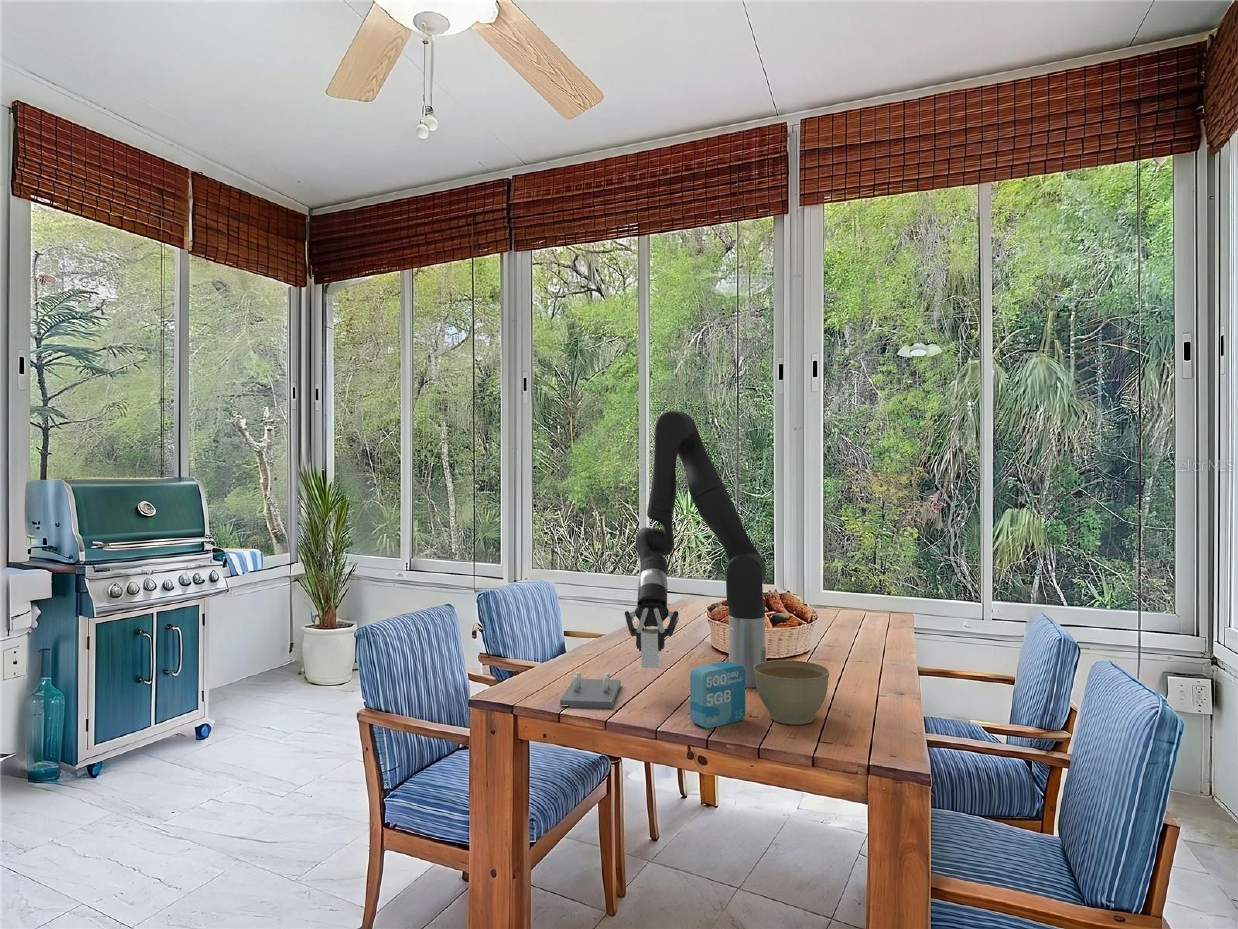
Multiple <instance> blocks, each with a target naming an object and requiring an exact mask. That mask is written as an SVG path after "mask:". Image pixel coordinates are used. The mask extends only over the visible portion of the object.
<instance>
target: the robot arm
mask: <svg viewBox="0 0 1238 929" xmlns="http://www.w3.org/2000/svg"><path fill="white" fill-rule="evenodd" d="M677 457H679V459H680V460H681V463H682V465H683V467H684V472H685V477H686V482H687V487H688V491H689V494H690V498H691V499H692V502H693V504H694V505H695V507H696V510H697V512H698V514H699V515H700V517H701V518H702V520H703V522H704V523H705V524H706V525H707V527H708V528H709V529H710V530H711V532H712V533H713V534H714V535H715V536H716V538H717V539H718V541H719V542H720V544H721V546H722V547H723V550H724V552H725V554H726V556H727V559H728V564H727V566H726V570H725V571H726V572H725V585H726V587H725V588H726V606H727V607H728V608H727V610H728V661H729V662H732V663H735V664H738V665H741V666H743V667H744V669H745V688H757V687H756V681H755V673H754V666H755V665H756V664H759V663H762V662H767V647H766V607H765V604H764V599H763V598H764V596H763V592H764V591H763V590H764V589H763V582H764V580H765V578H766V576H767V566H766V563H765V561H764V559H763V557H762V556H761V554H760V553H759V550H758V549H757V548H756V546H755V544H754V543H753V542H752V540H751V538H750V537H749V535H748V534H747V532H746V529H745V527H744V525H743V523H742V521H741V518H740V516H739V513H738V511H737V509H736V507H735V504H734V503H733V501H732V498H731V495H730V494H729V492H728V490H727V488H726V486H725V484H724V482H723V481H722V478H721V477H720V475H719V473H718V471H717V469H716V467H715V465H714V464H713V462H712V460H711V458H710V457H709V455H708V453H707V451H706V449H705V446H704V443H703V441H702V439H701V435H700V434H699V431H698V428H697V426H696V423H695V420H694V419H693V418H692V417H691V416H690V415H689V414H688V413H686V412H683V411H678V410H677V411H676V410H667V411H664V412H662V413H661V414H660V415H659V416H658V418H657V419H656V421H655V426H654V457H653V472H652V481H651V487H650V493H649V498H648V506H647V510H646V516H647V518H649V519H650V520H652V521H655V522H658V523H659V524H661V525H662V529H659V528H652V527H648V526H647V527H642V528H640V529H639V530H638V531H636V535H635V546H636V547H635V548H636V551H637V553H638V557H639V562H640V569H639V570H640V572H639V573H640V574H639V578H638V587H637V602H636V603H637V604H636V607H635V609H634V611H631V612H629V611H628V610H626V611H625V612H624V617H625V622H626V625H627V628H628V631H629V635H630V636H631V637H635V638H636V639H635V647H636V649H637V650H638V651H639V652H641V633H642V630H643V629H647V628H648V627H654V628H656V629H659V636H658V640H659V642H658V650H659V651H660V652H662V650H665V645H666V643H665V641H666V637H672V636H673V634H674V632H675V629H676V627H677V624H678V622H679V619H680V618H679V617H680V616H679V615H680V614H679V611H677V610H674V611H670V610H669V609H668V591H669V588H668V584H669V583H668V577H667V576H668V575H667V574H668V562H667V559H666V557H668V556H669V555H671V553H673V551H674V548H675V538H674V537H675V536H674V529H673V528H674V527H673V515H674V511H675V503H676V498H677V474H676V473H677V472H676V470H677V469H676V468H677V467H676V464H677ZM635 617H636V619H637V620H638V626H637V628H635V627H634V624H633V622H634V620H635ZM667 618H668V619H669V623H668V625H667V626H666V627H667V628H666V627H664V624H663V623H664V622H665V620H666V619H667Z"/></svg>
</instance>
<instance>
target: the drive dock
mask: <svg viewBox="0 0 1238 929" xmlns="http://www.w3.org/2000/svg"><path fill="white" fill-rule="evenodd" d="M621 683H622V680H621V679H611V673H609V672H607V673H606V672H605V673H604V676H603V677H602V678H582V672H580V671H577V672H575V675H573V680H572V681H571V683H570V684H569V686H568V687H567V689H566V690H565V692H563V693H564V694H562V696H561V698H560V700H559V706H560V705H568V706H576V707H575V708H581V707H590V708H589V709H608V708H612V709H613V706H614V704H615V701H616V699H615V698H617V696H618V694H619V692H618V691H620V688H621V686H622V684H621ZM592 707H593V708H592Z"/></svg>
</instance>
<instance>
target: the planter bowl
mask: <svg viewBox="0 0 1238 929" xmlns="http://www.w3.org/2000/svg"><path fill="white" fill-rule="evenodd" d="M754 673H755V681H756V687H755V688H756V690H757V692H758V693H757V694H758V696H759V699H760V700H761V703H762V704H763V706H764V707H765V708H766V710H767V711H768V715H769V717H770V719H771V720H772V721H775V722H777V723H779V724H780V723H781V724H784V725H793V726H796V725H807V724H810V723H812V722H814V721H815V717H816V714H817V713H818V712H819V710H820V709H821V707H822V706H823V703H825V702H824V701H825V698H826V697H827V696H826V695H827V693H828V688H829V678H830V670H829V668H827V667H826V666H824V665H821V664H819V663H814V662H810V661H803V660H795V659H794V660H792V659H790V660H789V659H781V660H780V659H779V660H778V659H776V660H769V661H767V660H766V662H762V663H759V664H756V665H755V666H754Z"/></svg>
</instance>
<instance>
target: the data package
mask: <svg viewBox="0 0 1238 929" xmlns="http://www.w3.org/2000/svg"><path fill="white" fill-rule="evenodd" d="M689 673H690V674H689V707H690V708H689V709H690V710H689V715H690V716H689V718H690V720H691V723H693V724H695V725H697V726H700V727H702V728H703V729H704V728H705V729H707V730H709V729H712V728H716V727H721V726H725V725H728V724H732V723H737V722H741V721H742V720H744V718H745V716H746V687H745V669H744V667H743V666H741V665H738V664H735V663H732V662H729V660H727V661H720V662H716V663H710V664H704V665H699V666H695V667H693V668H692V669H691V670H690V672H689Z"/></svg>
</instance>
